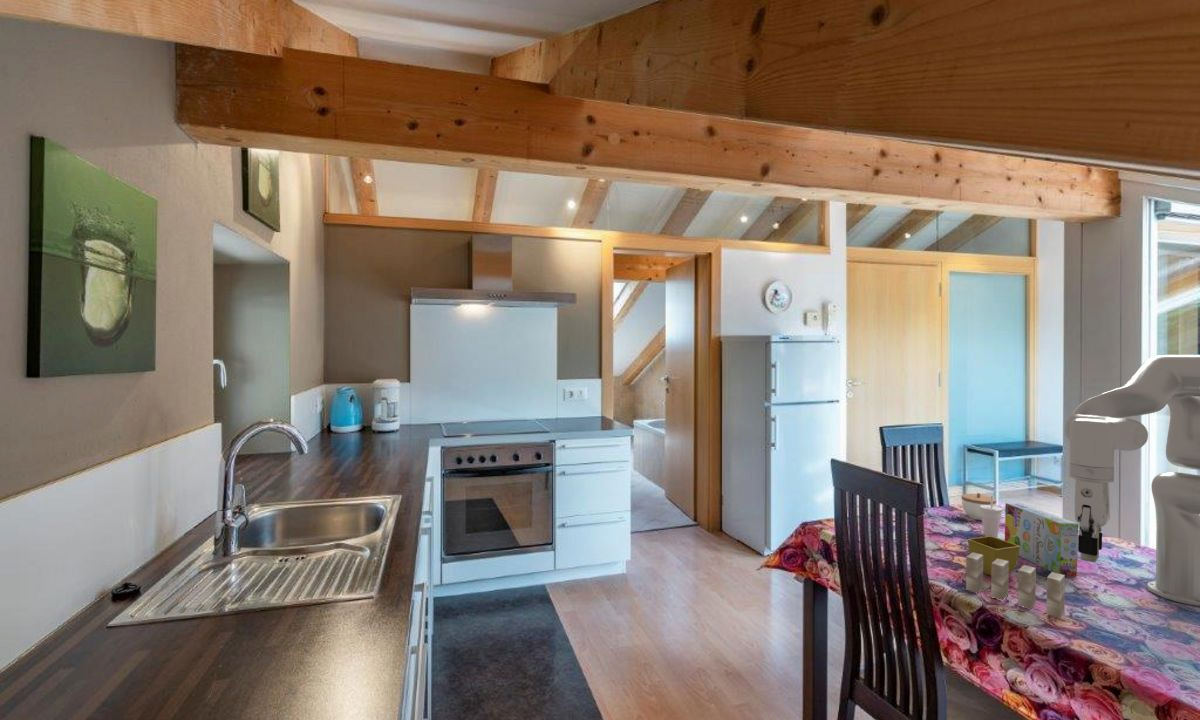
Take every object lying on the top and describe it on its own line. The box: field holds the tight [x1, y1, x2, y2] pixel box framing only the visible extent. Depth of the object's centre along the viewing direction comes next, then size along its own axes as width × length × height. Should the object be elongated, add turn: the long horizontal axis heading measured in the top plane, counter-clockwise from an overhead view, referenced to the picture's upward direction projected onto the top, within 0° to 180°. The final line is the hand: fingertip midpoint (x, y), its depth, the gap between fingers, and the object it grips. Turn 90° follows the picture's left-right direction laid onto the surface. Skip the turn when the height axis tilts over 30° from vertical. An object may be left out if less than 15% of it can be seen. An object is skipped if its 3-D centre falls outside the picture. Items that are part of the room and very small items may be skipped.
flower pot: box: [967, 535, 1020, 577], centre depth 149 cm, size 9×9×9 cm
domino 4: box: [1046, 571, 1066, 619], centre depth 127 cm, size 2×5×9 cm, turn 129°
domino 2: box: [990, 558, 1010, 600], centre depth 135 cm, size 2×5×9 cm, turn 129°
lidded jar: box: [961, 492, 997, 521], centre depth 200 cm, size 11×11×9 cm
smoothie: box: [980, 494, 1003, 538], centre depth 181 cm, size 6×6×14 cm
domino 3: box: [1017, 564, 1037, 610], centre depth 131 cm, size 2×5×9 cm, turn 129°
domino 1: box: [965, 552, 984, 592], centre depth 139 cm, size 2×5×9 cm, turn 129°
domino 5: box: [1080, 521, 1100, 564], centre depth 122 cm, size 2×5×9 cm, turn 129°
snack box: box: [1004, 502, 1079, 577], centre depth 158 cm, size 21×6×15 cm, turn 179°
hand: (1090, 550), depth 122 cm, fingers closed on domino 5, 4 cm apart
